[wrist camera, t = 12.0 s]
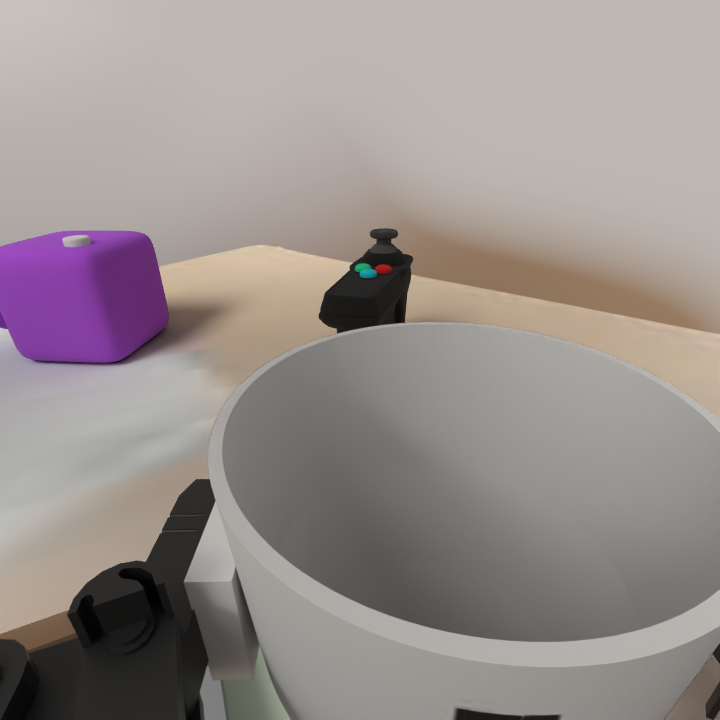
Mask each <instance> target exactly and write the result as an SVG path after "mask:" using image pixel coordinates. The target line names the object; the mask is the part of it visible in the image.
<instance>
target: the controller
mask: <svg viewBox="0 0 720 720" xmlns="http://www.w3.org/2000/svg"><path fill="white" fill-rule="evenodd" d="M370 236H371V237H372V238H374V239H377V243H376V244H375V245H374V246H373V247H372V248H371V249H369V250H368V251H367V252H366V253H365V254H364V256H363V257H361V258H360V259H358V260H357V261H356V262H354V263H353V264H351V265H350V271H348V272H347V273H346V274H345V275H344V276H343V277H342V278H341V279H340V280H339V281H337V282H336V283H335V284H334V285H333V286H332V287H331V288H330V289H329V290H328V291H326V292H325V295H324V298H323V302H322V305H321V309H320V310H321V311H320V313H319V319H320V320H321V321H322V322H323V323H324V324H326V325H327V326H329V327H332V328H337V334H338V333H342V332H346V331H351V330H355V329H361V328H366V327H373V326H380V325H388V324H398V323H405V313H406V302H407V292H408V288H409V284H410V280H411V269H410V265H411V263H412V261H413V257H412V256H410V255H406V254H403V253H402V252H401V251H400V250H399V249H397V248H396V247H395V246H394V245H393V244H391V239H393V238H396V237H397V236H398V232H397V231H396V230H394V229H375V230H372V231H371V232H370Z"/></svg>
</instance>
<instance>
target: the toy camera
mask: <svg viewBox="0 0 720 720" xmlns="http://www.w3.org/2000/svg"><path fill="white" fill-rule="evenodd" d="M168 321H169V313H168V307H167V302H166V298H165V293H164V289H163V285H162V280H161V276H160V271H159V267H158V262H157V258H156V254H155V250H154V247H153V244H152V242H151V240H150V238H149V237H148V236H147V235H145V234H143V233H139V232H133V231H63V232H56V233H51V234H47V235H43V236H39V237H35V238H31V239H27V240H23V241H19V242H15V243H11V244H7V245H4V246H1V247H0V327H1V328H4V329H8V330H9V332H10V335H11V337H12V339H13V341H14V343H15V346H16V347H17V349H18V351H19V352H20V353H21V354H22V355H23V356H24V357H26V358H29V359H33V360H42V361H65V362H100V363H104V362H116V361H119V360H121V359H123V358H125V357H127V356H128V355H130V354H131V353H132V352H134V351H135V350H136V349H138V348H139V347H140V346H142V345H143V344H144V343H146V342H147V341H148V340H150V339H151V338H152V337H154V336H155V335H156V334H158V333H159V332H160V331H161V330H163V329H164V328H165V327H166V325H167V324H168Z"/></svg>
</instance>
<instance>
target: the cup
mask: <svg viewBox="0 0 720 720" xmlns="http://www.w3.org/2000/svg"><path fill="white" fill-rule="evenodd" d="M208 471H209V478H210V482H211V487H212V490H213V493H214V497H215V500H216V503H217V506H218V510H219V513H220V516H221V520H222V523H223V526H224V529H225V533H226V536H227V539H228V542H229V546H230V549H231V552H232V556H233V559H234V562H235V565H236V569H237V572H238V575H239V579H240V582H241V585H242V588H243V592H244V595H245V598H246V601H247V605H248V608H249V611H250V615H251V618H252V621H253V624H254V628H255V631H256V634H257V638H258V641H259V644H260V647H261V651H262V654H263V657H264V660H265V664H266V667H267V670H268V673H269V676H270V679H271V681H272V684H273V686H274V688H275V691H276V693H277V695H278V697H279V699H280V701H281V703H282V705H283V707H284V708H285V710H286V712H287V714H288V716H289V718H290V719H291V720H664V719H665V717H666V716H667V715H668V713H669V712H670V710H671V709H672V708H673V706H674V705H675V704H676V702H677V701H678V700H679V698H680V697H681V695H682V694H683V693H684V691H685V690H686V689H687V687H688V686H689V684H690V683H691V682H692V680H693V679H694V678H695V676H696V675H697V674H698V672H699V671H700V669H701V668H702V667H703V665H704V664H705V663H706V661H707V660H708V659H709V657H710V656H711V654H712V653H713V652H714V650H715V649H716V648H717V646H718V645H719V644H720V420H719V419H718V418H717V417H716V416H715V415H713V414H712V413H711V412H710V411H709V410H707V409H706V408H705V407H703V406H702V405H701V404H700V403H698V402H697V401H695V400H694V399H693V398H691V397H690V396H688V395H687V394H685V393H684V392H682V391H681V390H679V389H677V388H676V387H674V386H673V385H671V384H669V383H667V382H666V381H664V380H662V379H660V378H659V377H657V376H655V375H653V374H651V373H649V372H647V371H645V370H643V369H641V368H639V367H637V366H635V365H632V364H630V363H628V362H626V361H623V360H621V359H619V358H616V357H614V356H611V355H609V354H606V353H603V352H601V351H598V350H595V349H592V348H589V347H586V346H583V345H580V344H577V343H573V342H570V341H567V340H563V339H559V338H555V337H551V336H547V335H543V334H539V333H534V332H529V331H524V330H518V329H513V328H506V327H499V326H492V325H483V324H472V323H456V322H414V323H398V324H388V325H380V326H373V327H366V328H361V329H355V330H351V331H346V332H342V333H338V334H334V335H331V336H327V337H324V338H321V339H318V340H315V341H312V342H309V343H307V344H304V345H302V346H299V347H297V348H295V349H292V350H290V351H288V352H286V353H284V354H282V355H280V356H279V357H277V358H275V359H273V360H272V361H270V362H268V363H267V364H265V365H264V366H262V367H261V368H260V369H258V370H257V371H255V372H254V373H253V374H252V375H250V376H249V377H248V378H247V379H246V380H245V381H244V382H243V383H242V384H241V385H240V386H239V387H238V388H237V389H236V390H235V391H234V392H233V393H232V395H231V396H230V397H229V398H228V400H227V401H226V403H225V404H224V406H223V407H222V409H221V411H220V413H219V414H218V417H217V419H216V421H215V423H214V426H213V429H212V432H211V436H210V441H209V447H208Z"/></svg>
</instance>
